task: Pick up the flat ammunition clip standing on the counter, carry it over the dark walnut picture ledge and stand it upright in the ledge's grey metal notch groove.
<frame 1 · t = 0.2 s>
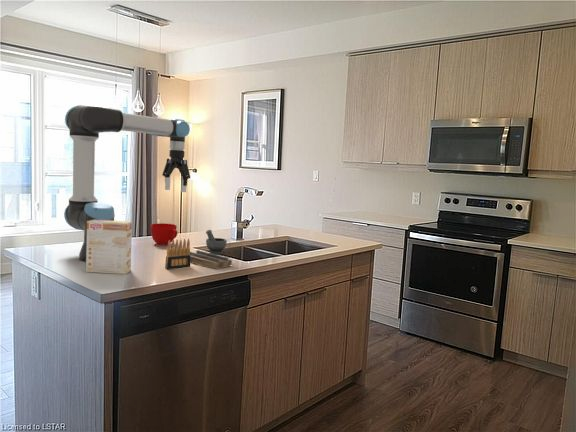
hand: (175, 191, 241), 28 cm above the countertop, fingers open, 13 cm apart
mortar and pestle: (214, 254, 226), on the countertop
ceramic cup: (165, 245, 240), on the countertop
ammunition clip: (177, 268, 192), on the countertop
coffeecake box: (108, 271, 178), on the countertop
picture ledge: (207, 263, 204), on the countertop
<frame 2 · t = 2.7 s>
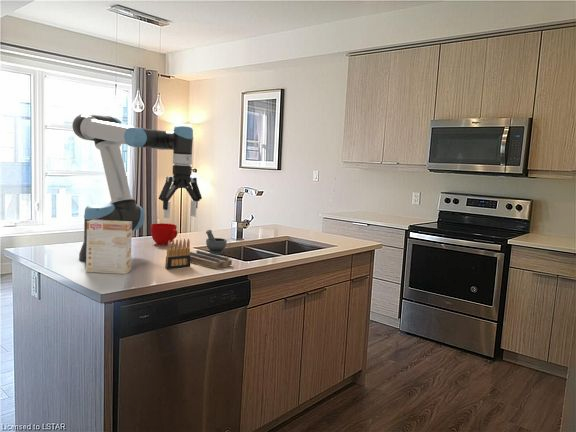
hand: (180, 217, 190), 21 cm above the countertop, fingers open, 13 cm apart
nothing on the countertop moved.
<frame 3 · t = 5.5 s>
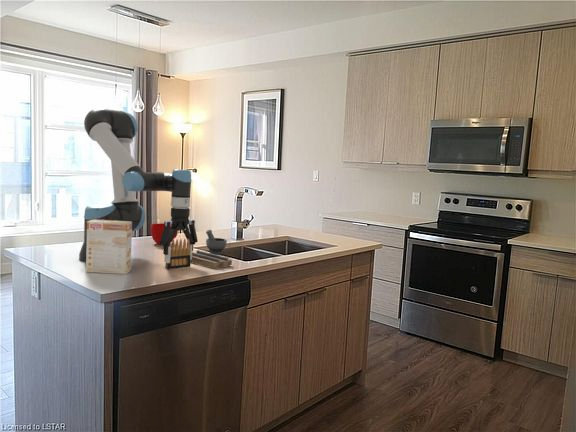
hand: (178, 260, 191), 3 cm above the countertop, fingers closed on ammunition clip, 10 cm apart
ammunition clip: (177, 268, 192), on the countertop, touching gripper
everything else where it was.
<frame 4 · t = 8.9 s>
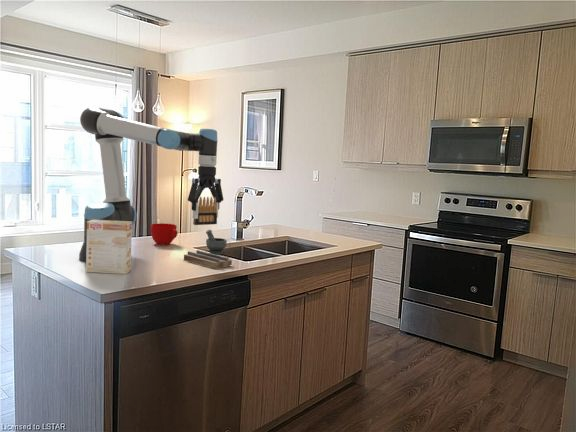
hand: (205, 217, 199), 20 cm above the countertop, fingers closed on ammunition clip, 10 cm apart
ammunition clip: (205, 224, 200), point 17 cm above the countertop, touching gripper
everything else where it was.
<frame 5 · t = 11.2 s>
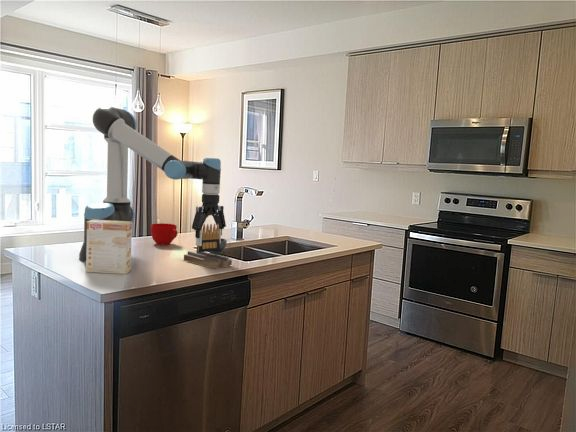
hand: (208, 244, 203), 8 cm above the countertop, fingers closed on ammunition clip, 10 cm apart
ammunition clip: (208, 251, 203), point 5 cm above the countertop, touching gripper
everything else where it was.
when the fingers open (6 cm above the countertop, at t = 12.7 s): ammunition clip stays where it is, resting on picture ledge.
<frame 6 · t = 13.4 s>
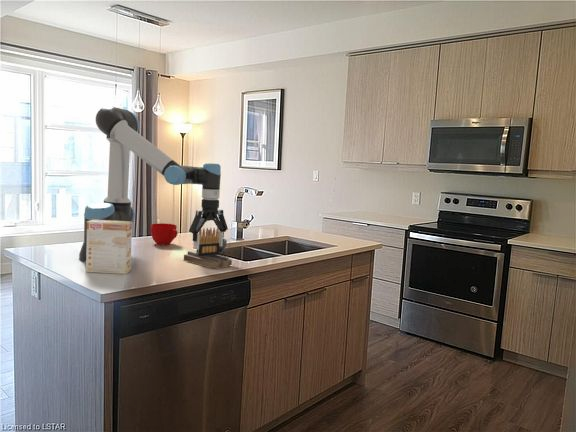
hand: (208, 247, 203), 7 cm above the countertop, fingers open, 13 cm apart
ammunition clip: (207, 255, 204), point 4 cm above the countertop, touching picture ledge
everything else where it was.
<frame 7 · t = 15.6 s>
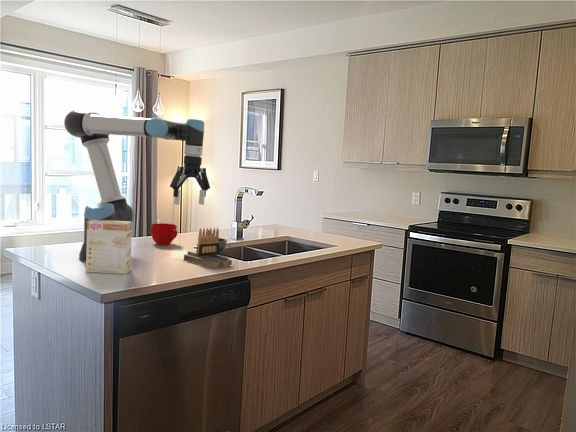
hand: (189, 204, 203), 25 cm above the countertop, fingers open, 13 cm apart
nothing on the countertop moved.
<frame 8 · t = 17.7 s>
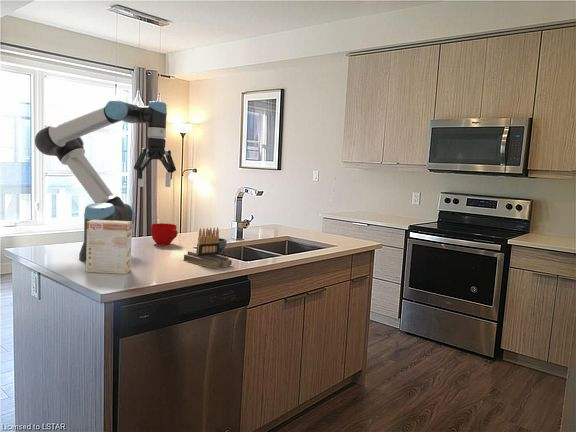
hand: (154, 186, 204), 32 cm above the countertop, fingers open, 13 cm apart
nothing on the countertop moved.
at the end: ammunition clip inside the target area on the picture ledge (0.1 cm from its centre), point 3.5 cm above the picture ledge's base; ammunition clip tilted 0°; the gripper is holding nothing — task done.
